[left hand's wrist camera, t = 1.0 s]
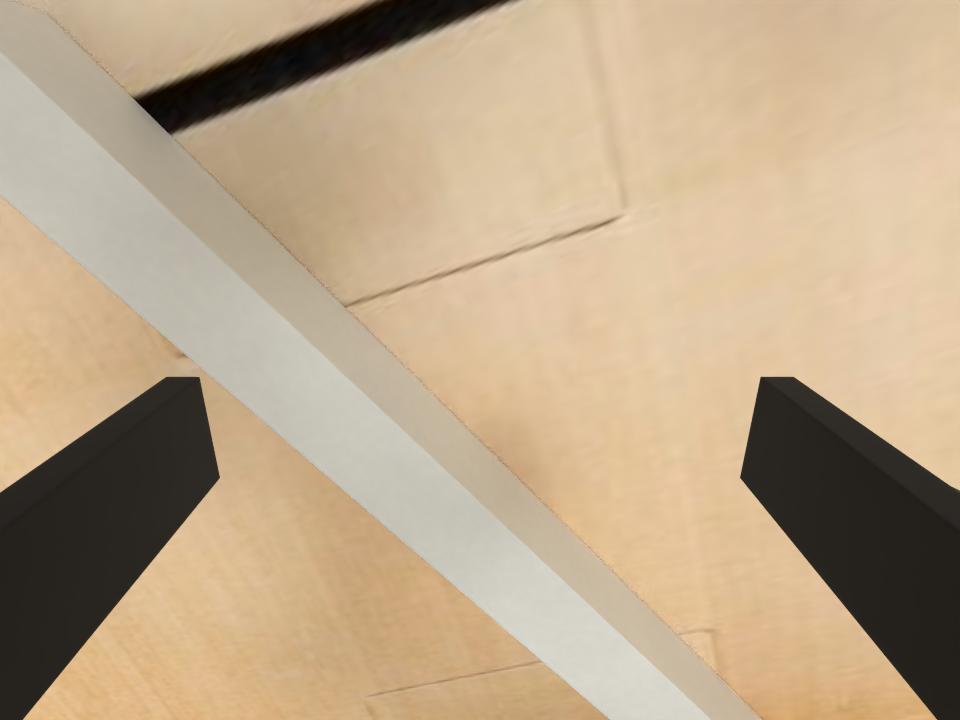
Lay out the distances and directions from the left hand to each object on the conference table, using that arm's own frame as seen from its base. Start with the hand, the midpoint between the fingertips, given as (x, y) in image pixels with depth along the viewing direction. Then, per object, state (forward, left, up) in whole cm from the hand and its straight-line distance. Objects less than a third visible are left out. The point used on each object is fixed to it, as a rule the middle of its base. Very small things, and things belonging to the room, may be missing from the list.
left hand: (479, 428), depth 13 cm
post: (+17, +6, -23) cm, 30 cm away
